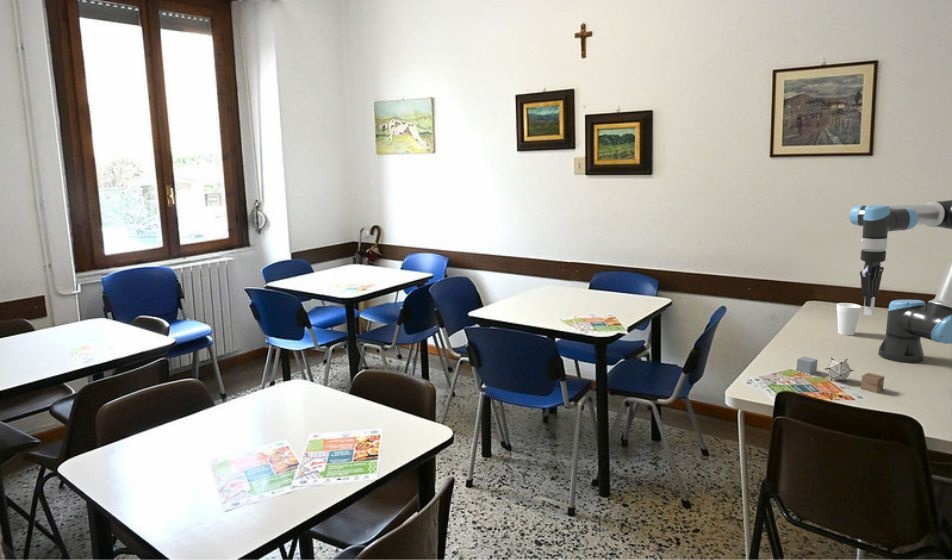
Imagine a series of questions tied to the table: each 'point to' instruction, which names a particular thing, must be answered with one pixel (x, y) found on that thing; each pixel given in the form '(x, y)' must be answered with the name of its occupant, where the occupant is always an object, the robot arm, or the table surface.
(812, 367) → the grey block
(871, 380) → the walnut block
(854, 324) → the foam cup
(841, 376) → the white icosahedron
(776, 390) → the table surface
